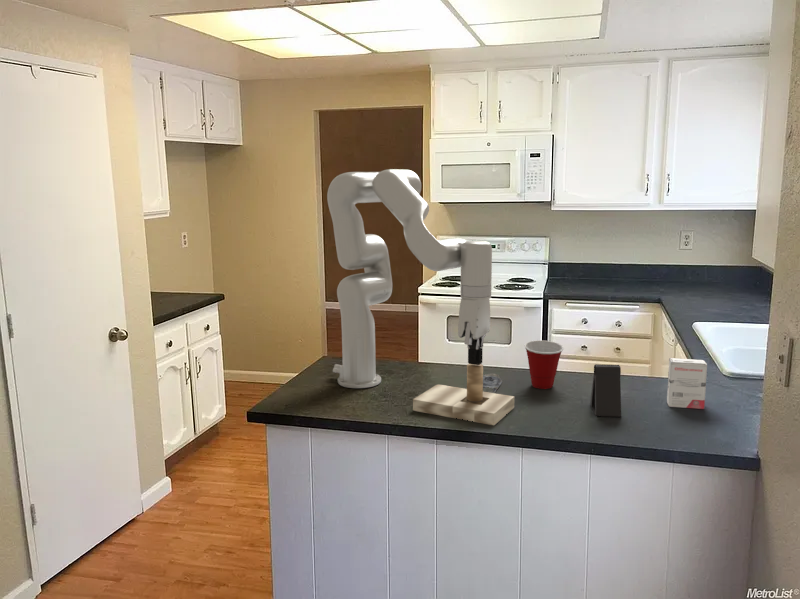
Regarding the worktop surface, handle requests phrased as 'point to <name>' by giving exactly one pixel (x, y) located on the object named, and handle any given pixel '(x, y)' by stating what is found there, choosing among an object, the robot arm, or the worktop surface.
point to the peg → (474, 384)
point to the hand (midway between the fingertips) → (475, 363)
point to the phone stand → (606, 391)
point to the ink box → (686, 383)
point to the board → (463, 404)
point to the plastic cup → (543, 362)
